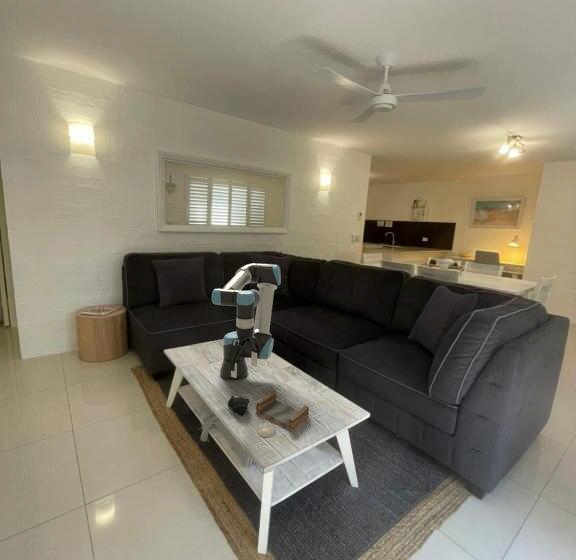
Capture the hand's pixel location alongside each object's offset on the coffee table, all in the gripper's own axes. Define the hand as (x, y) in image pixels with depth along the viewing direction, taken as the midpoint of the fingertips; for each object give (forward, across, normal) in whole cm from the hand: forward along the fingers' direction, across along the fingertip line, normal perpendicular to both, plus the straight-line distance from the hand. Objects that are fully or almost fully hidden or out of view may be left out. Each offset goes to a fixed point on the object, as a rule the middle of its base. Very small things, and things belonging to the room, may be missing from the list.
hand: (244, 371), depth 139 cm
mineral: (+18, -3, -1) cm, 18 cm away
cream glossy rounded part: (+18, -7, -19) cm, 27 cm away
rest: (+17, +5, -18) cm, 26 cm away
